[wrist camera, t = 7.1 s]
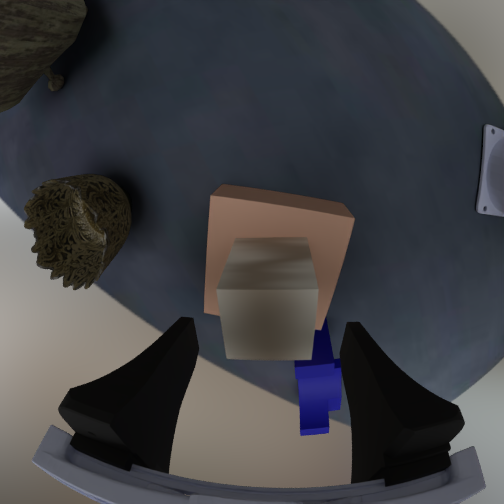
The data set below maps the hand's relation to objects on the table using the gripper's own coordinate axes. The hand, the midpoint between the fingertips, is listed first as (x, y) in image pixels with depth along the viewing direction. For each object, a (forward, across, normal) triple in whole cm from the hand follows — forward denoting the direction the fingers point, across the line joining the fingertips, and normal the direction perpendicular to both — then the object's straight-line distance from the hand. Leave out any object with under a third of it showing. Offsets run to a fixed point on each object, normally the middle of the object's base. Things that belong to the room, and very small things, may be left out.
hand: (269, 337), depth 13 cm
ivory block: (+7, 0, 0) cm, 7 cm away
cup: (+10, +13, -4) cm, 17 cm away
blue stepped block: (+11, -5, +13) cm, 17 cm away
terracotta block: (+11, 0, 0) cm, 11 cm away
